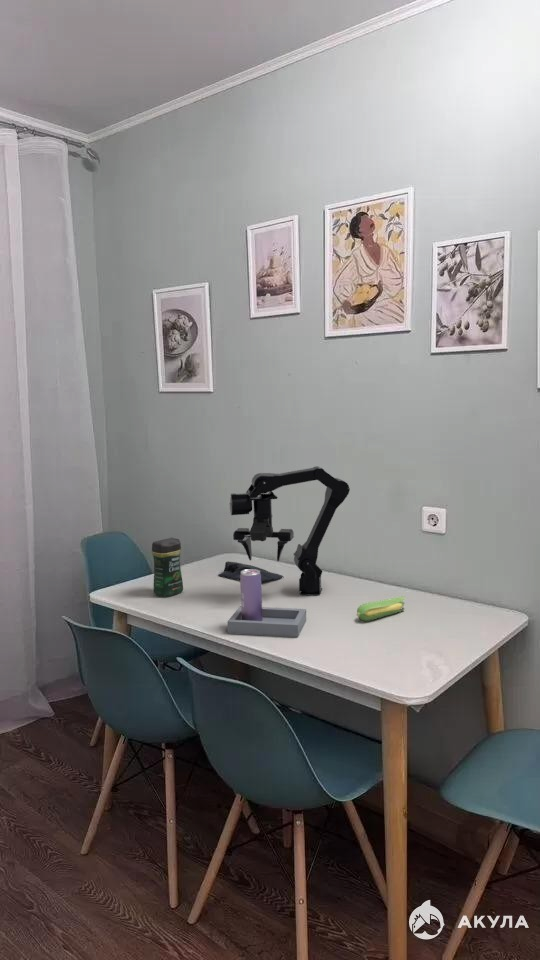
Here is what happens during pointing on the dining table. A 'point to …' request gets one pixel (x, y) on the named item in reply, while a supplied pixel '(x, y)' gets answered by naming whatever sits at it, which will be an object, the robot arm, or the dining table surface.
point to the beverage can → (251, 595)
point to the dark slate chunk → (235, 569)
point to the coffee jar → (167, 567)
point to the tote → (270, 622)
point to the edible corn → (379, 608)
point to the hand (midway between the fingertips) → (264, 560)
